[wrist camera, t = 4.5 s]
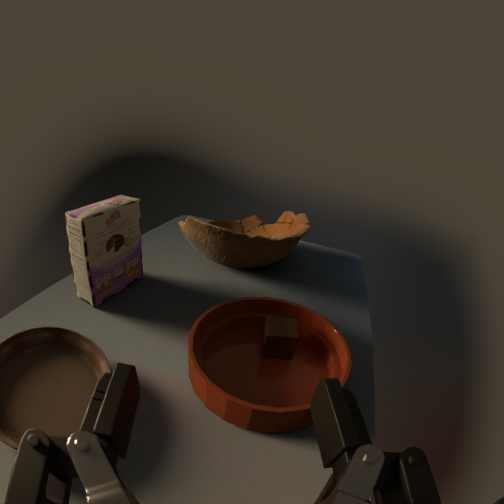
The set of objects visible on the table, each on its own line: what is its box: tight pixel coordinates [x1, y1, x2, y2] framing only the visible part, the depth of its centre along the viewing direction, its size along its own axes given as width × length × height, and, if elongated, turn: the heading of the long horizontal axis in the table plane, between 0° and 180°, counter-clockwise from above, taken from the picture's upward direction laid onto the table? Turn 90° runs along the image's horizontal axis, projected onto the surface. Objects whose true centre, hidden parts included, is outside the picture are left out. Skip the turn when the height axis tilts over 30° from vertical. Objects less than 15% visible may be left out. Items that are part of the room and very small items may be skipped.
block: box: [261, 315, 299, 360], centre depth 39 cm, size 4×4×4 cm
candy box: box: [65, 195, 143, 307], centre depth 45 cm, size 14×6×16 cm, turn 157°
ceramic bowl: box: [179, 211, 310, 268], centre depth 65 cm, size 30×27×15 cm
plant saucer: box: [0, 326, 111, 450], centre depth 23 cm, size 21×21×3 cm
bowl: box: [188, 297, 352, 433], centre depth 35 cm, size 21×21×6 cm
